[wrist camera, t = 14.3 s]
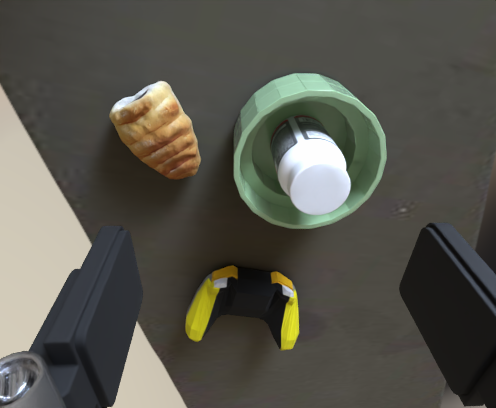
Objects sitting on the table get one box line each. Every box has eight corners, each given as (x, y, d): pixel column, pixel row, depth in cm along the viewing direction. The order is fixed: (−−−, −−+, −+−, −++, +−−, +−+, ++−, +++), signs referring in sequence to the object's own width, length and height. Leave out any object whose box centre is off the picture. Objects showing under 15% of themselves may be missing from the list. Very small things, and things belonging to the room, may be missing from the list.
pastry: (218, 155, 35) (216, 172, 32) (164, 183, 37) (157, 202, 34) (164, 72, 31) (156, 82, 27) (106, 107, 32) (91, 121, 29)
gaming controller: (289, 322, 50) (310, 272, 45) (295, 356, 45) (319, 305, 40) (186, 310, 48) (196, 257, 42) (181, 345, 43) (191, 290, 38)
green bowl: (234, 70, 31) (234, 88, 25) (375, 74, 31) (405, 92, 26) (232, 193, 38) (232, 228, 32) (348, 194, 38) (367, 229, 33)
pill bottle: (282, 174, 36) (297, 231, 28) (260, 129, 33) (269, 176, 25) (334, 152, 35) (365, 204, 27) (315, 102, 32) (344, 143, 24)
